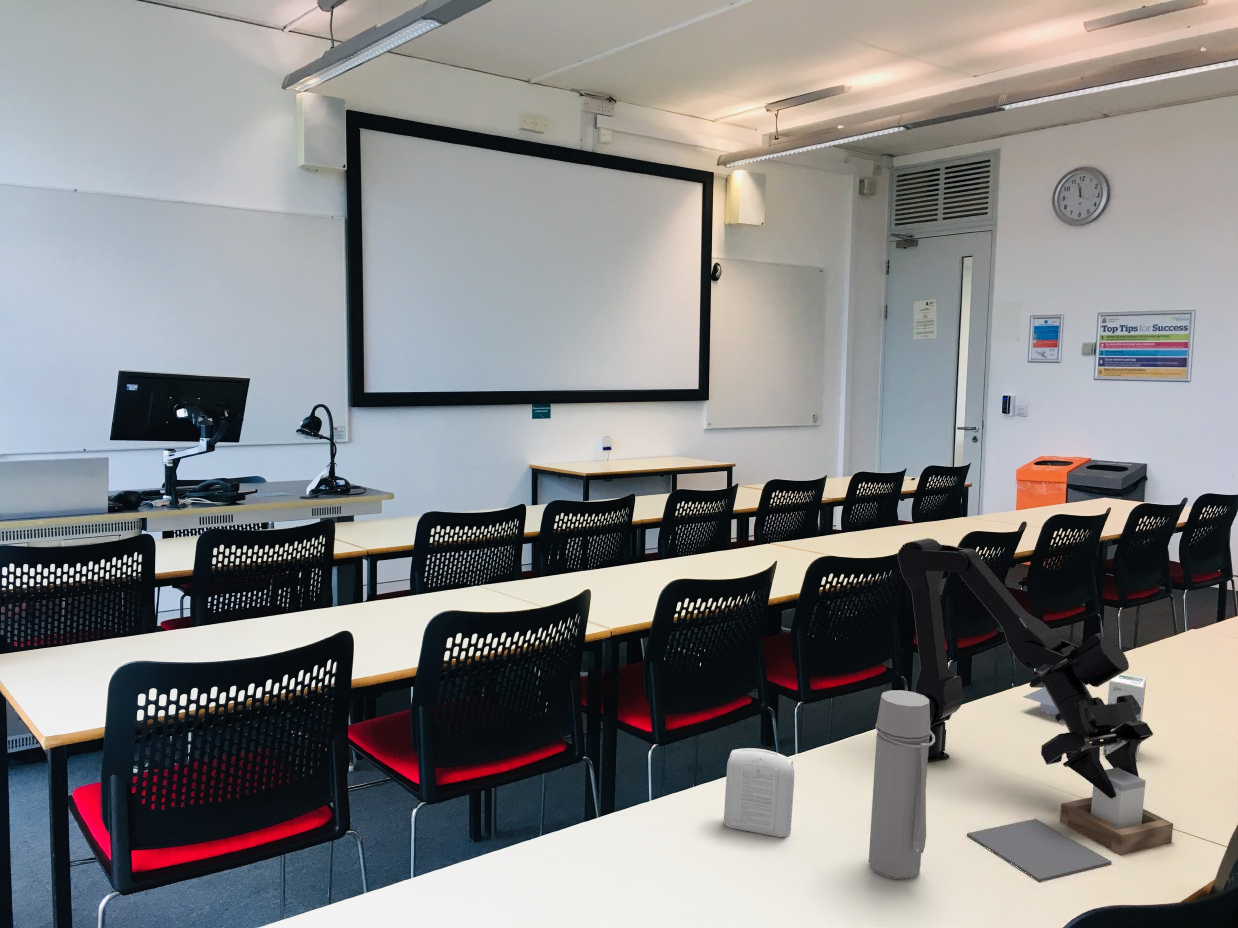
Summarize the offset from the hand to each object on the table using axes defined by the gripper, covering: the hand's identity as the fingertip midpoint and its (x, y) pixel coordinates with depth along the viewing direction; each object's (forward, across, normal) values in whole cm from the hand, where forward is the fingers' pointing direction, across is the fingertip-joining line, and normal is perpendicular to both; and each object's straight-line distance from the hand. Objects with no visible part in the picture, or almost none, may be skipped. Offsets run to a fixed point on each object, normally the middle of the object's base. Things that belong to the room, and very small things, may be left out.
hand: (1126, 794), depth 150 cm
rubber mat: (+4, -16, +6) cm, 17 cm away
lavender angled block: (-26, +34, +36) cm, 56 cm away
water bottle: (+2, -40, +7) cm, 41 cm away
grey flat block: (-10, -52, +20) cm, 57 cm away
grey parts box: (+4, 0, +6) cm, 7 cm away
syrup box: (-12, +28, +21) cm, 37 cm away
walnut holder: (+4, 0, +6) cm, 7 cm away
